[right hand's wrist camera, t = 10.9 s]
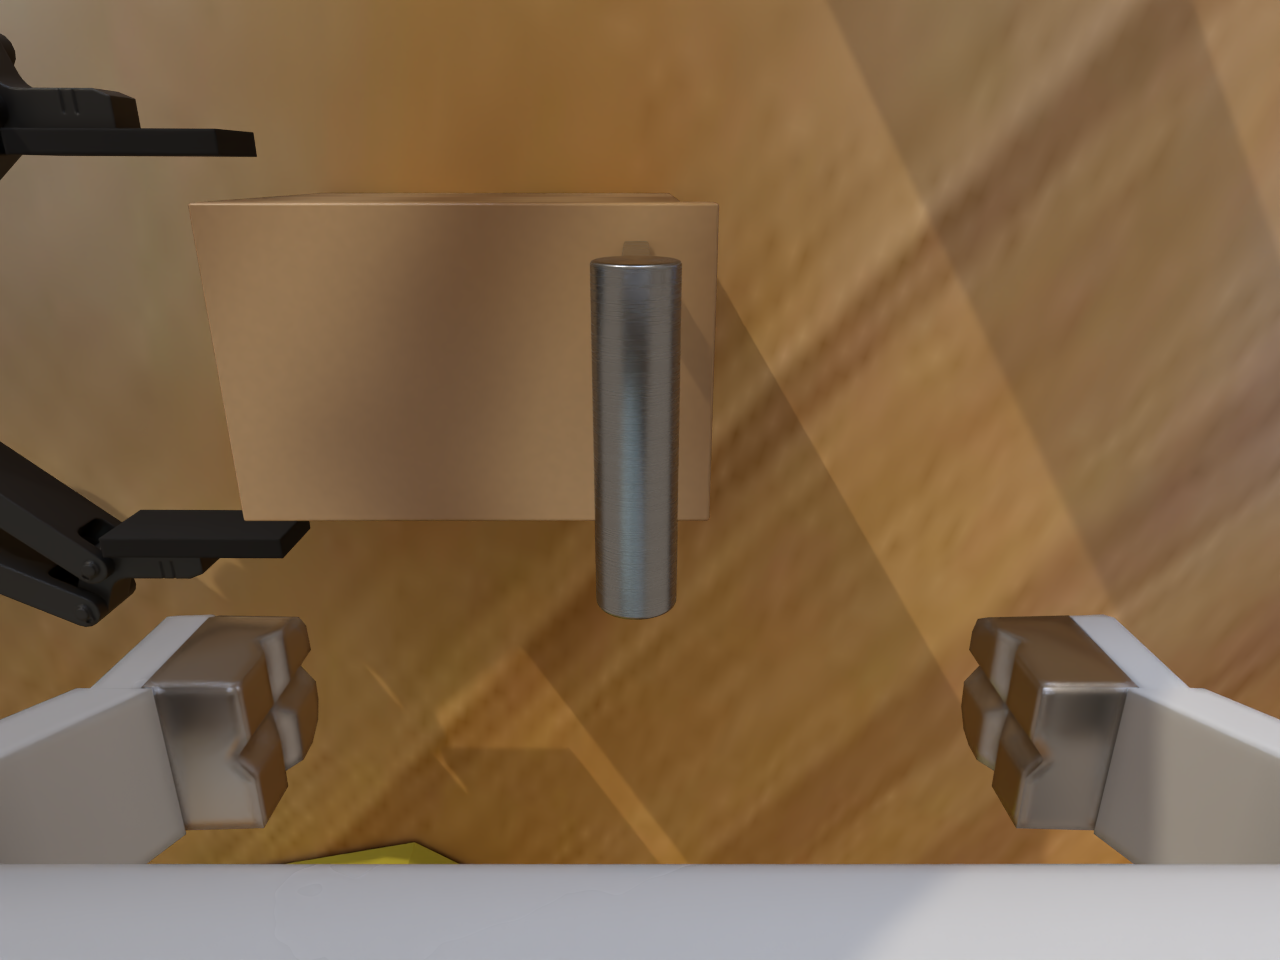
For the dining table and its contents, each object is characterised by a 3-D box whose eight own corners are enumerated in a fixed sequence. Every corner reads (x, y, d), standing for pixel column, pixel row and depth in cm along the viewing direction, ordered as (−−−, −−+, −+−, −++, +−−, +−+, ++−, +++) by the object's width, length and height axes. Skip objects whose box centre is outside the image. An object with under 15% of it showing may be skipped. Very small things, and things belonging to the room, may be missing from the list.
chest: (669, 193, 33) (682, 201, 24) (667, 425, 37) (676, 508, 28) (322, 193, 33) (205, 201, 24) (351, 425, 37) (257, 509, 28)
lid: (716, 202, 24) (757, 217, 16) (706, 509, 28) (736, 654, 19) (204, 201, 24) (-20, 218, 16) (256, 509, 28) (94, 654, 19)
